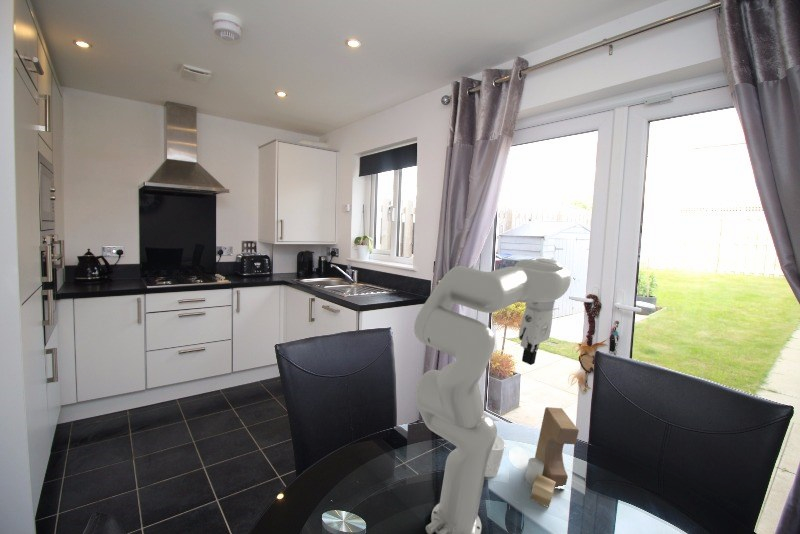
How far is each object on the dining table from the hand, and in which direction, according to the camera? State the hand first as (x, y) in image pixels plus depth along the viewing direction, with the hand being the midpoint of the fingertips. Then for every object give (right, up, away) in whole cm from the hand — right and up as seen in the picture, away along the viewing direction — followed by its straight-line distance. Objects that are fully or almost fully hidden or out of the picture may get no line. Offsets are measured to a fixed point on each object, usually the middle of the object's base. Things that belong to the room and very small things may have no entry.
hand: (528, 362), depth 114 cm
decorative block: (+8, -36, +5) cm, 37 cm away
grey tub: (+2, -36, +3) cm, 36 cm away
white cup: (-11, -34, +5) cm, 36 cm away
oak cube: (+3, -37, -3) cm, 38 cm away
